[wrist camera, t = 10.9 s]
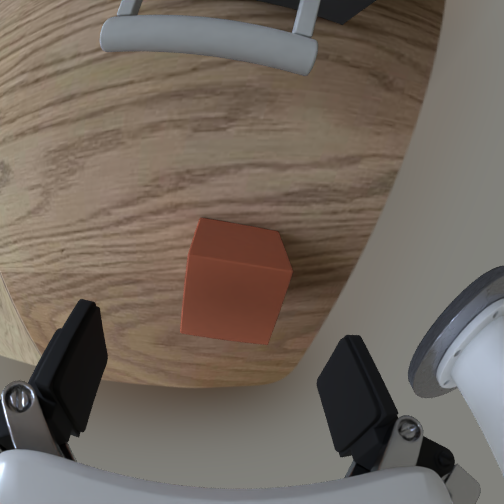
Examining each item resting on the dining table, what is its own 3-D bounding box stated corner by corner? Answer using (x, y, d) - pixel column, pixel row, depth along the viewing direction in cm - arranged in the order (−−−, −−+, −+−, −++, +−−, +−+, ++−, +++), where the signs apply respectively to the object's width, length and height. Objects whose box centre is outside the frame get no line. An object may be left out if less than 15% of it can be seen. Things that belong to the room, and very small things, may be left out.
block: (278, 231, 16) (294, 271, 12) (260, 295, 18) (268, 345, 14) (200, 216, 15) (187, 254, 11) (190, 284, 17) (179, 333, 13)
